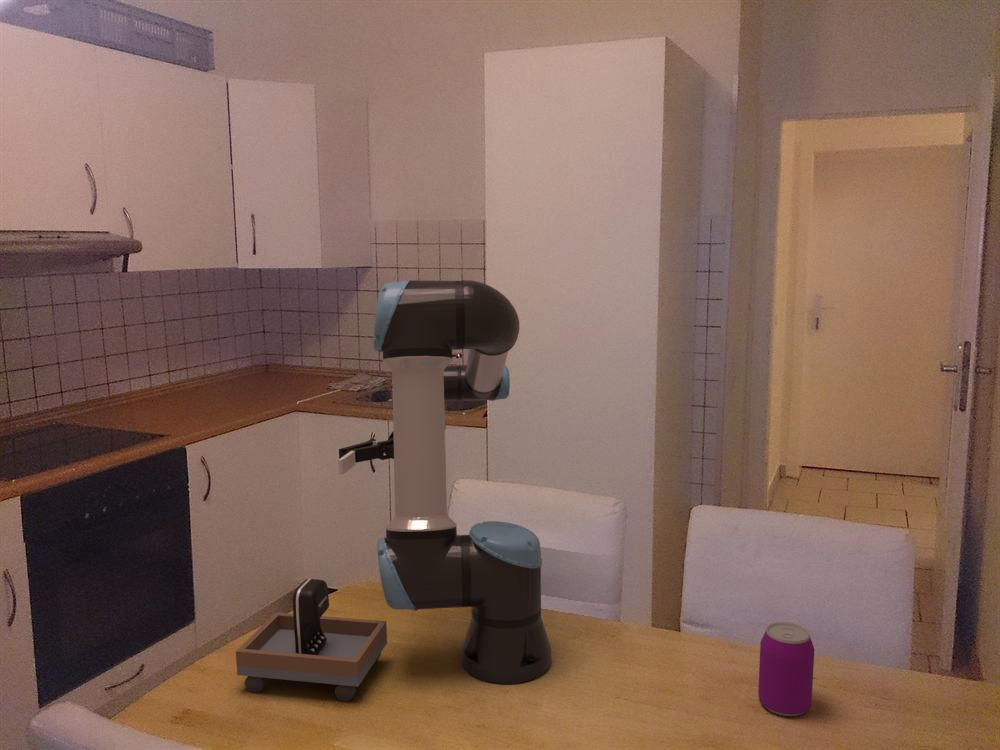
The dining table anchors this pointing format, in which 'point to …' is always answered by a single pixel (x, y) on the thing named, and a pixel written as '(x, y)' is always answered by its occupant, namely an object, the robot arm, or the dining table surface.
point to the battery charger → (309, 615)
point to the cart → (335, 663)
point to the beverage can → (786, 669)
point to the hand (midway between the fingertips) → (376, 468)
